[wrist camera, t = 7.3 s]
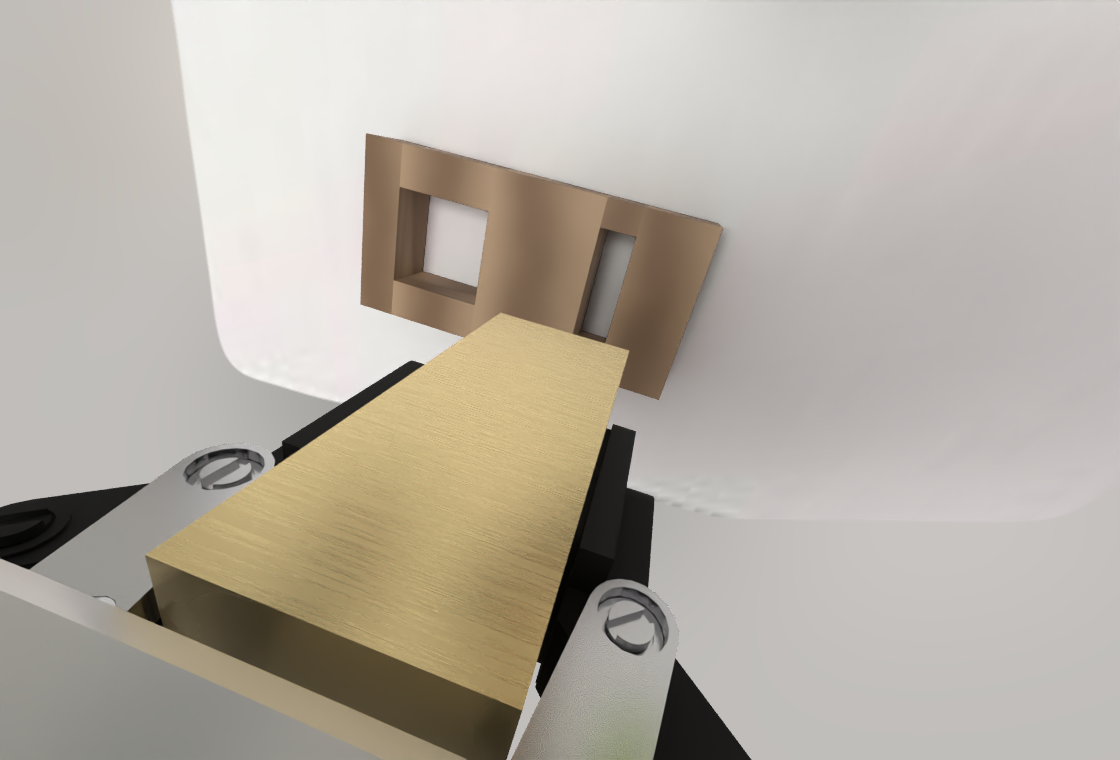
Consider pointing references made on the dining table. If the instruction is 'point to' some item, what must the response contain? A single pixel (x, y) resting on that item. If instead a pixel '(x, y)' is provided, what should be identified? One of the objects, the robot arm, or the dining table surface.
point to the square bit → (411, 539)
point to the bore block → (530, 254)
